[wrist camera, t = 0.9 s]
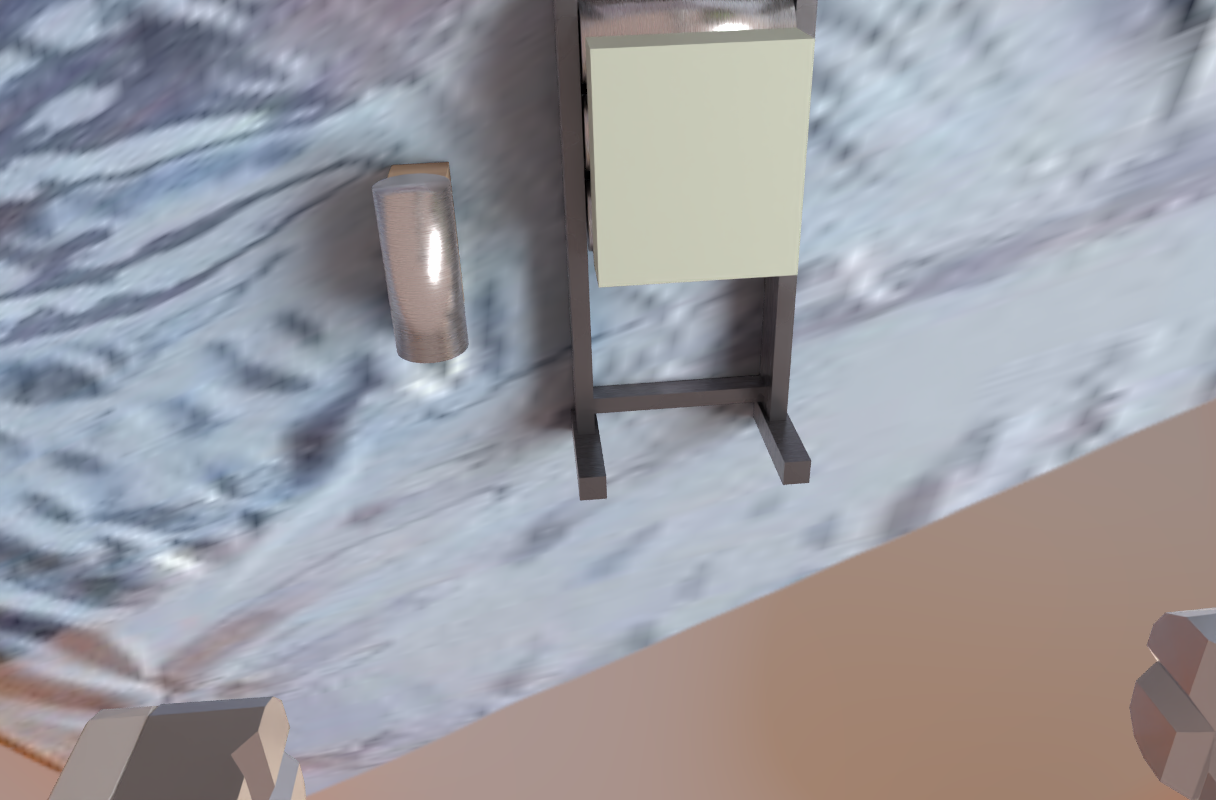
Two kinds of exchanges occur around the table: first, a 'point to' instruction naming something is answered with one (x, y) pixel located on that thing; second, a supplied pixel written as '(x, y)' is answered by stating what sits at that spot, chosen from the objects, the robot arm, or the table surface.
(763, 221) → the slab
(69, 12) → the table surface
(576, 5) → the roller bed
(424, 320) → the roller
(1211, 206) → the table surface
